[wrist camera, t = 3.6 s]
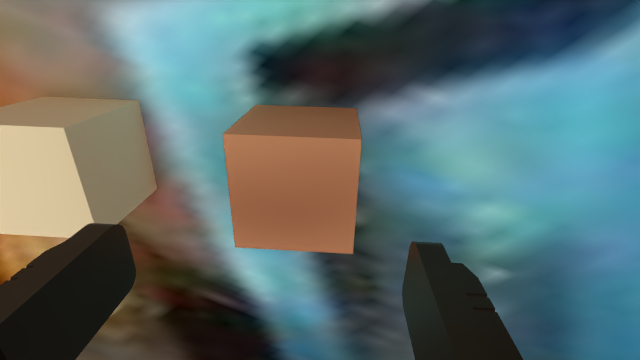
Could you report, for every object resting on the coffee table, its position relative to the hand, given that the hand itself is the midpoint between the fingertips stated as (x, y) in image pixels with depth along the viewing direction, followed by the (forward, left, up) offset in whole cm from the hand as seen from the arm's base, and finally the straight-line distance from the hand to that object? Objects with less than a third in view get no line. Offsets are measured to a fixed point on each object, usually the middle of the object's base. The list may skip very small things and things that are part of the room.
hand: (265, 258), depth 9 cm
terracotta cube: (0, 0, -9) cm, 9 cm away
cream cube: (+11, 0, -9) cm, 14 cm away
